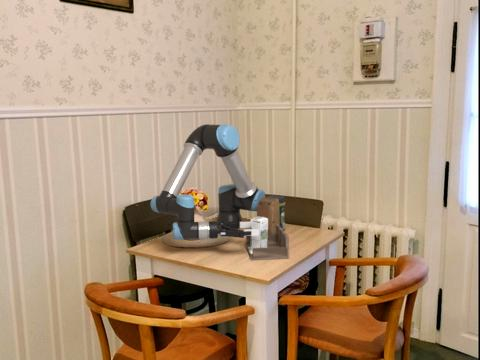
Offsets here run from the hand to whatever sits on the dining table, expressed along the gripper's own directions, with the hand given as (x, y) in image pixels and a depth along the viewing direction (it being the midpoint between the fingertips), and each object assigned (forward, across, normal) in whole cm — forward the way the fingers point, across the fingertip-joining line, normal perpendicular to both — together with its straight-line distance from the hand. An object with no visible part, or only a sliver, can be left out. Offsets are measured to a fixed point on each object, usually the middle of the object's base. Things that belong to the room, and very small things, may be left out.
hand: (256, 228), depth 198 cm
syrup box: (+1, 0, -10) cm, 10 cm away
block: (+10, -23, -11) cm, 28 cm away
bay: (+4, 0, -11) cm, 12 cm away
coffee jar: (+17, -37, -11) cm, 42 cm away
